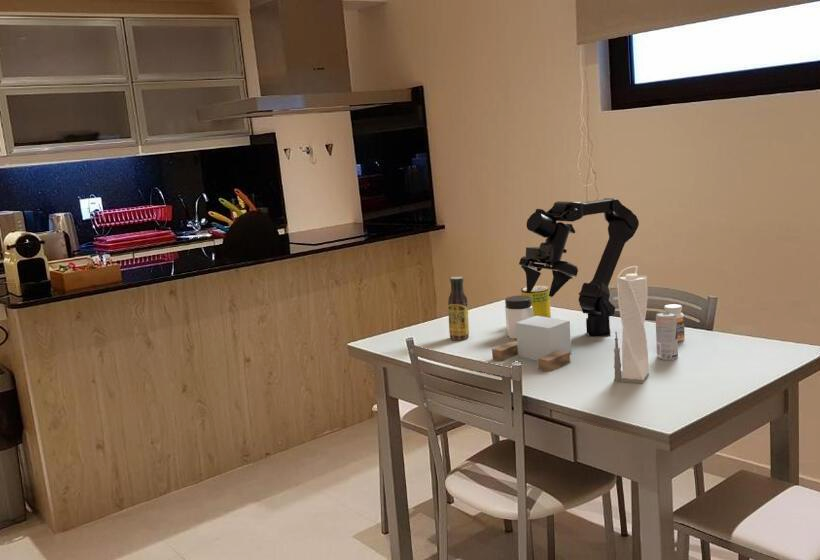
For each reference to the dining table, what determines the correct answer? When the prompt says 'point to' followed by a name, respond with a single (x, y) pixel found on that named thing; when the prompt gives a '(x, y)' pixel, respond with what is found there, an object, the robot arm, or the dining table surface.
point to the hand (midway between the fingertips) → (539, 294)
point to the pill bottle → (680, 319)
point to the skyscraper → (632, 329)
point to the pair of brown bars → (544, 362)
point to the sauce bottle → (458, 310)
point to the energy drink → (666, 335)
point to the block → (542, 336)
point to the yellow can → (539, 300)
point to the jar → (517, 312)
